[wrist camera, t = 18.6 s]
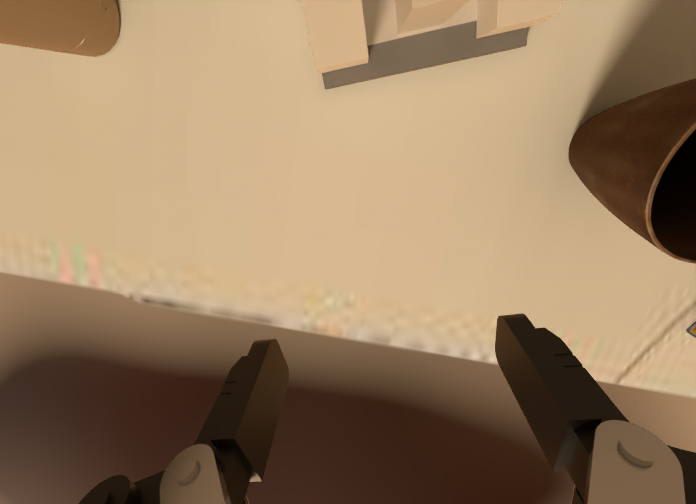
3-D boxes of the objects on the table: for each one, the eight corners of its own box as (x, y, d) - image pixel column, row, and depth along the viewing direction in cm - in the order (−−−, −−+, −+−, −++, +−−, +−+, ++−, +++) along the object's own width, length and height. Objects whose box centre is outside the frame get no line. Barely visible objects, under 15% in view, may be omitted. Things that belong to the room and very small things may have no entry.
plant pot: (618, 37, 30) (850, -17, 15) (705, 118, 33) (962, 135, 19) (509, 164, 36) (603, 207, 22) (590, 221, 39) (717, 292, 25)
